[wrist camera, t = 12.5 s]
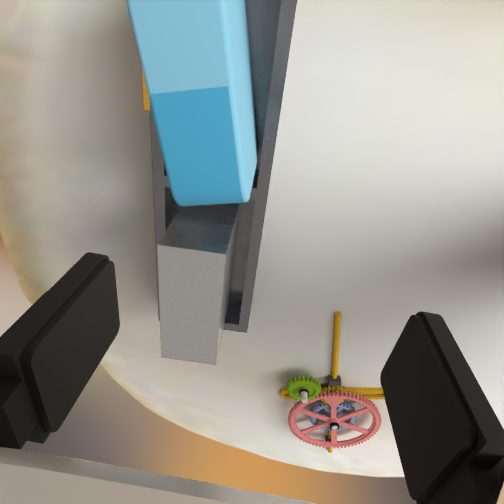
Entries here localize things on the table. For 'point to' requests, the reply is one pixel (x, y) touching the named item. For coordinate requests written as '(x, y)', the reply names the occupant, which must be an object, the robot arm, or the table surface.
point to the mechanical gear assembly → (331, 404)
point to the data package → (200, 95)
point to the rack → (219, 214)
